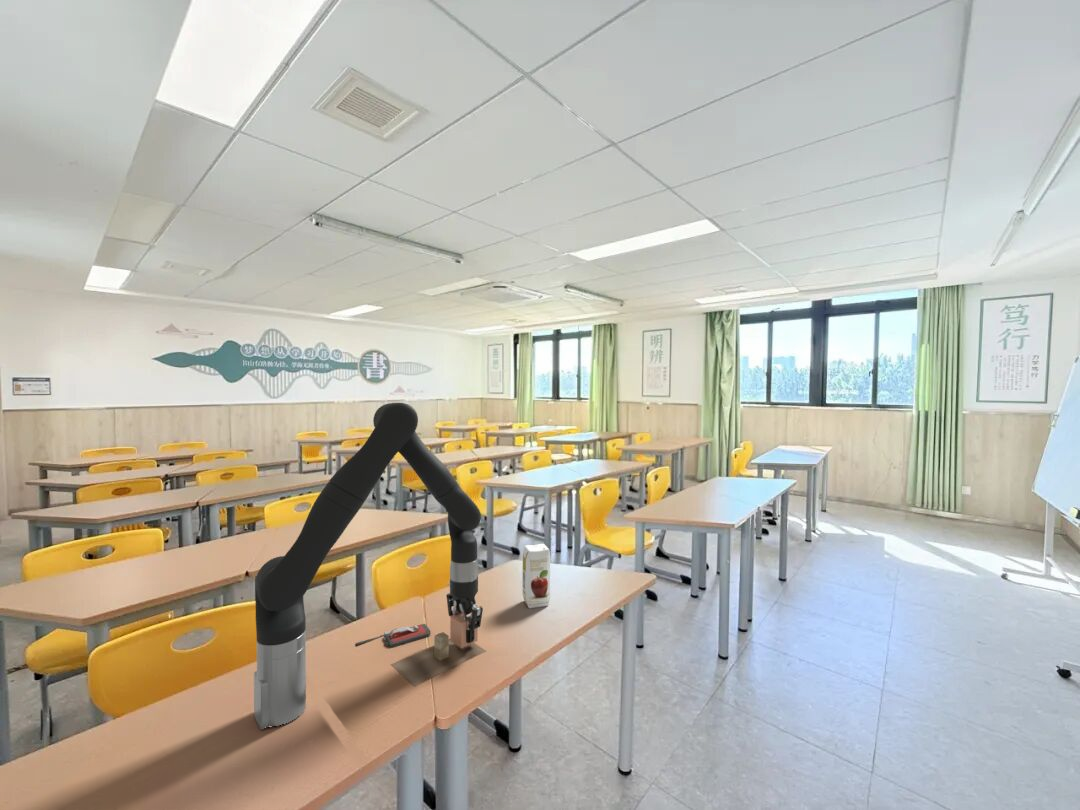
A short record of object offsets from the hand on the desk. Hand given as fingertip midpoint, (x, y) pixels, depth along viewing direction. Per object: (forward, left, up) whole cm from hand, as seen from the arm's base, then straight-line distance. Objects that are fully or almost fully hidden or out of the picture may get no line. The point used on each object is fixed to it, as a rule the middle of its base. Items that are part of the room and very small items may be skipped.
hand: (463, 637), depth 121 cm
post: (0, 0, -2) cm, 2 cm away
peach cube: (0, 0, -1) cm, 1 cm away
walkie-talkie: (-11, +17, -5) cm, 21 cm away
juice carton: (+34, +7, -4) cm, 35 cm away
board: (-7, 0, -4) cm, 8 cm away
